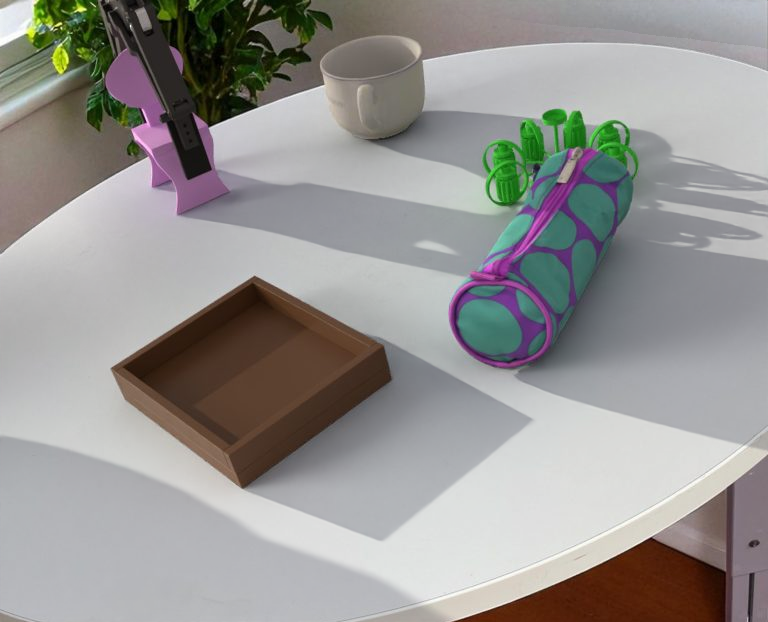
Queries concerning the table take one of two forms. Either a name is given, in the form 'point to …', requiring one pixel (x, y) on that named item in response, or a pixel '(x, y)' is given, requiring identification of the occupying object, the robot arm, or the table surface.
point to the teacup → (375, 85)
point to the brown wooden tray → (252, 378)
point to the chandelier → (535, 150)
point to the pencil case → (542, 259)
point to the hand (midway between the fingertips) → (178, 150)
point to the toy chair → (162, 134)
